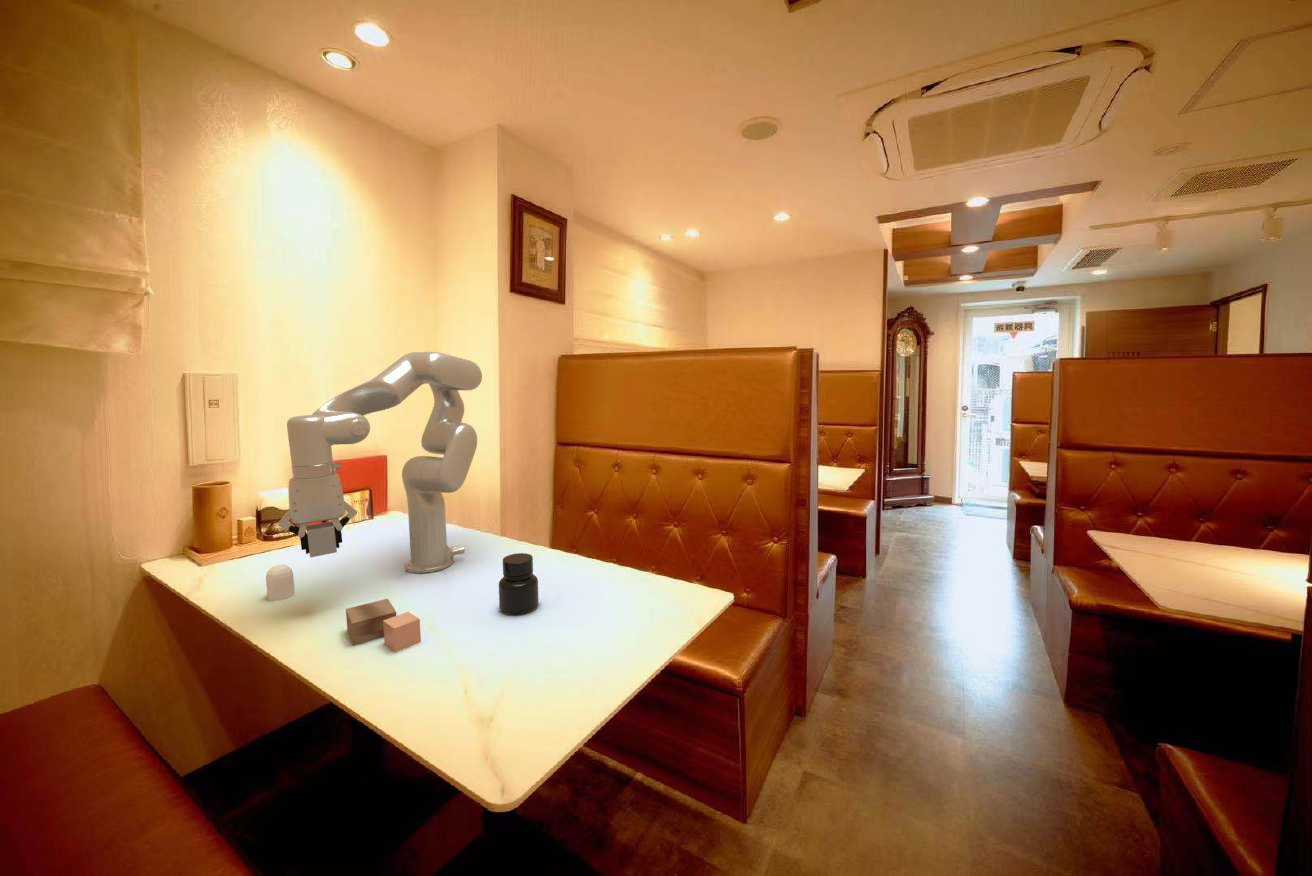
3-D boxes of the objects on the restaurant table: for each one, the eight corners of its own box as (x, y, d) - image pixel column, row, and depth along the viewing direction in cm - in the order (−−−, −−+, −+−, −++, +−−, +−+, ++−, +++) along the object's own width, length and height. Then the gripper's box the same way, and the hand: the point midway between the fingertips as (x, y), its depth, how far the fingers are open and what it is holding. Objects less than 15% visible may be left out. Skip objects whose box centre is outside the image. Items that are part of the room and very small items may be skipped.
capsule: (280, 601, 118) (277, 570, 117) (262, 599, 119) (258, 568, 118) (300, 592, 123) (297, 561, 122) (282, 590, 124) (279, 560, 123)
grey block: (335, 545, 115) (332, 521, 114) (336, 552, 111) (334, 526, 110) (309, 550, 112) (306, 525, 111) (310, 557, 108) (306, 531, 107)
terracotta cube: (409, 634, 104) (408, 611, 103) (420, 642, 101) (419, 618, 100) (384, 643, 100) (382, 620, 99) (395, 652, 97) (394, 628, 96)
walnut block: (389, 619, 110) (387, 598, 109) (397, 634, 104) (396, 611, 103) (347, 631, 105) (345, 608, 104) (353, 647, 99) (351, 623, 98)
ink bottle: (523, 594, 122) (521, 548, 121) (547, 604, 117) (546, 556, 116) (490, 609, 114) (488, 560, 113) (514, 620, 109) (513, 569, 108)
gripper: (356, 463, 117) (363, 536, 120) (265, 473, 107) (275, 552, 110) (360, 468, 111) (367, 545, 114) (264, 479, 101) (275, 563, 104)
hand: (322, 548), depth 112 cm, fingers closed on grey block, 5 cm apart
